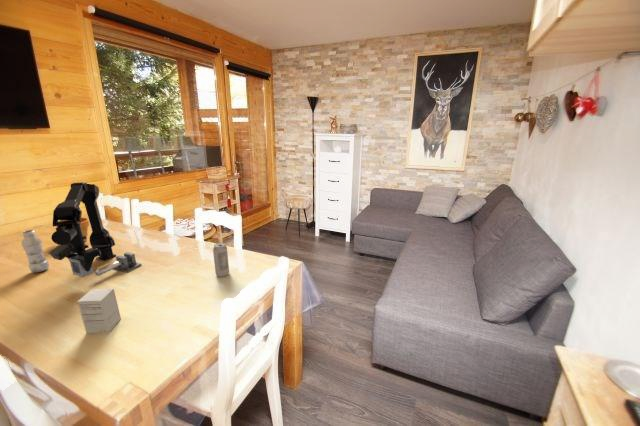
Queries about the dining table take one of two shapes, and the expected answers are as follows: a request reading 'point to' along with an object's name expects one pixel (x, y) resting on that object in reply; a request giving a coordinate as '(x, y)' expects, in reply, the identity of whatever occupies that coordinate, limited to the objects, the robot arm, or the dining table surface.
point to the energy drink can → (221, 259)
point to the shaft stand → (119, 264)
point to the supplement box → (99, 310)
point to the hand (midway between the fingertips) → (82, 269)
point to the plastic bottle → (34, 252)
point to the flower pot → (83, 226)
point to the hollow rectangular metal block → (79, 267)
